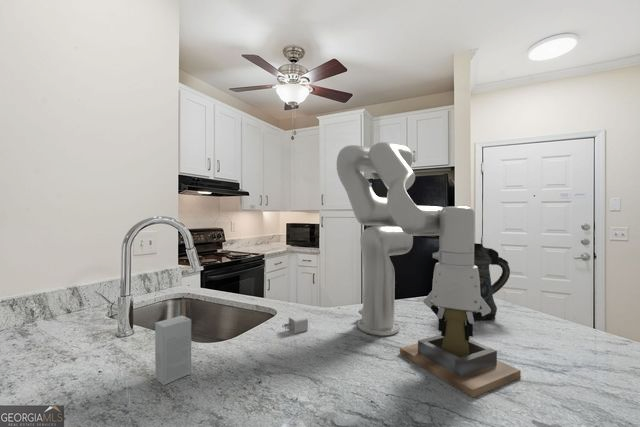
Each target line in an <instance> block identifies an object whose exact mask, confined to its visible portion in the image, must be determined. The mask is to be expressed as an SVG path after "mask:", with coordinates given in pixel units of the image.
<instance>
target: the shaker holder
mask: <svg viewBox="0 0 640 427" xmlns="http://www.w3.org/2000/svg"><path fill="white" fill-rule="evenodd" d="M443 337H444V336H441V334H438V335H435V336H431V337H430V336H429V337H426V338H423V339H418V340H417V343H413V344H410V345H405V346H403V347H400V348H399V354H400V355H401V356H403V357H404V358H406V359H408V360H410V361H411V362H412V363H415V364H416V365H418V366H419V367H421V368H423V369H425V370H426V371H428V372H430V373H431V374H433V375H434V376H436V377H438V378H439V379H441V380H443V381H445V382H446V383H448V384H449V385H452V386H453V387H454V388H456V389H458V390H459V391H461V392H463V393H465V394H466V395H468V396H469V397H471V398H475V397H477V396H480V395H483V394H484V393H487V392H490V391H491V390H492V391H493V389H496V388H499V387H501V386H503V385H506V384H508V383H510V382H512V381H515V380H517V379H520V378H521V375H522V374H521V371H522V370H521V369H520V368H516V367H514V366H512V365H510V364H507V363H505V362H503V361H501V360H498V357H497V356H498V351H497V350H496V349H493V348H491V347H490V346H489V347H488V346H486V345H484V344H482V343H479V342H477V341H474V340H472V339H470V338H469V341H468V346H469V354H470V355H467V356H464V357H461V358H459V357H457V356H455V355H453V354H451V353H449V352H447V351H445V350H443V349H442V343H443Z"/></svg>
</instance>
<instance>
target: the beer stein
mask: <svg viewBox="0 0 640 427" xmlns="http://www.w3.org/2000/svg"><path fill="white" fill-rule="evenodd" d="M474 265H475V266H477V267H478V271H479V278H480V295H481V297H482V298H483V299H484V301H485V302H486V303H487V305H488V306H489V307H490V309H491V312H490V313H488V314H486V315H484V316H482V317H481V318H479V319H478V320H477V321H476V322H488V321H493V320H495V319H496V315H497V310H498V307H497V305H496V303H495V300H494V297H493V295H495V294H496V293H497V292H499V291H500V290H501V289H502V288H503V287H504V286H505V285H506V284H507V282H508V280H509V279H510V275H511V269H510V265H509V262H508V261H507V260H506V259H504V258H502V257H500V256H499V252H498V251H496V250H495V249H494V248H491V247H485V246H483V243H476V242H474ZM490 265H491V266H499V267H500V268H501V270H502V271H501V274H500V277H499V278H498V279H497V280H496V281H495V282H493V284H492V277H491V272H490V271H491V270H490ZM480 309H482V307H481V306H480ZM480 309H479V310H480ZM473 313H475V312H473Z"/></svg>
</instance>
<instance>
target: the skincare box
mask: <svg viewBox="0 0 640 427" xmlns="http://www.w3.org/2000/svg"><path fill="white" fill-rule="evenodd" d="M154 337H155V339H154V342H155V343H154V344H155V346H154V350H155V351H154V352H155V354H154V355H155V357H154V358H155V362H154V363H155V365H154V366H155V379H156V380H157V381H158V382H159V383H160V384H162V386H165V385H167V384H170V383H172V382H175V381H177V380H179V379H182V378H184V377H186V376H188V375H191V374H192V318H189V317H186V316H184V315H180V316H179V315H178V316H176V317H172V318H167V319H164V320H160V321H156V322H154Z"/></svg>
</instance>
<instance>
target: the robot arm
mask: <svg viewBox="0 0 640 427" xmlns="http://www.w3.org/2000/svg"><path fill="white" fill-rule="evenodd" d="M413 158H414V157H413V154H412V151H411V150H410V149H409V148H408V147H407V146H405V145H403V144H402V145H401V144H398V143H397V144H396V143H391V142H386V141H385V142H384V141H382V142H377V143H375V144H373V145H371V147H369V146H363V145H357V144H356V145H355V144H354V145H353V144H351V145H347V146H344V147H343V148H341V149H340V151H339V152H338V155H337V158H336V173H337V176H338V178H339V180H340V182H341V184H342V187H343V188H344V190H345V192H346V194H347V198H348V201H349V202H350V203H349V204H350V206H351V208H352V211H353V214H354V216H355V218H356V220H357V222H358V223H359V224H360V225H361V226H369V227H366V228H365V229H363V231H362V233H361V234H360V237H359V238H360V239H359V241H360V242H359V243H360V249H361V254H362V266H363V267H362V268H363V272H362V277H363V281H362V282H363V285H362V287H363V288H362V289H363V290H362V295H363V296H362V297H363V298H362V299H363V301H362V304H363V305H362V308H361V309H358V311H357V312H358V314H359V315H361V319H360V320H358V322H357V328H358V329H359V330H361V331H362V332H364V333H366V334H369V335H373V336H381V337H382V336H384V337H385V336H392V335H395V334H397V333H399V331H400V329H401V328H400V324H399V323H398V322H396V321H395V295H396V294H395V292H396V291H395V288H396V287H395V286H396V285H395V284H396V281H395V277H396V276H395V273H396V272H395V267H394V265H393V262H392V261H391V258H390V256H399V255H404V254H407V253H409V252H410V250H411V249H412V248H413V244H414V237H415V236H416V237H419V236H420V237H421V236H439V237H438V238H439V241H438V242H439V245H438V246H439V247H438V251H437V252H432V259H435V260H438V262H436V263H435V265H434V268H433V278H432V290H431V291H430V292H429V293H428V295H427V296H426V297H425V298H424V299H423V304H424V305H425V306H426V307H428V308H429V309H430V310H431V311H432V312H433V313H434V314H435V316H436V317H437V319H438V327H437V328H438V331H439V332H440V335H441V336H445V323H446V318H445V316H444V310H445V308H447V309H454V310H461V311H466V314H467V320H466V321H465V324H466V340H467V341H469V339H470V338H471V337H473V335H474V333H473V332H474V331H473V330H474V324H475V322H478V321H477V320H478V319H479V318H481V317H482V316H484V315H486V314H488V313H490V312H491V309H490V307H489V306H488V305H487V303H486V302H485V301H484V299H483V298H482V297H481V295H480V278H479V271H478V267H477V266H475V265H474V243H475V231H476V229H475V224H476V223H475V217H476V216H475V211H474V209H473V208H472V207H470V206H445V207H443V206H436V205H435V206H433V205H432V206H431V205H417V204H416V203H415V202H414V201H413V199H412V198H411V197H410V195H409V194H408V192H407V190H409V189H410V188H411V187H412V186H413V185H414V182H415V181H416V174H415V172H414V171H413V169H412V168H411V166H412V164H413V160H414V159H413ZM361 172H363V173H371V174H377V175H378V177H379V178H380V180H381V181H382V183H383V185H384V186H385V187H386V188H387V194H386V197H385V196H378V195H376V193H375V192H374V189H373V187H372V184H371V183H370V181H369V180H368V179H367V178H366V176H364V175H363V174H362V173H361ZM480 306H481V307H482V309H480ZM479 309H480V310H479ZM473 312H475V313H473Z"/></svg>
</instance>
